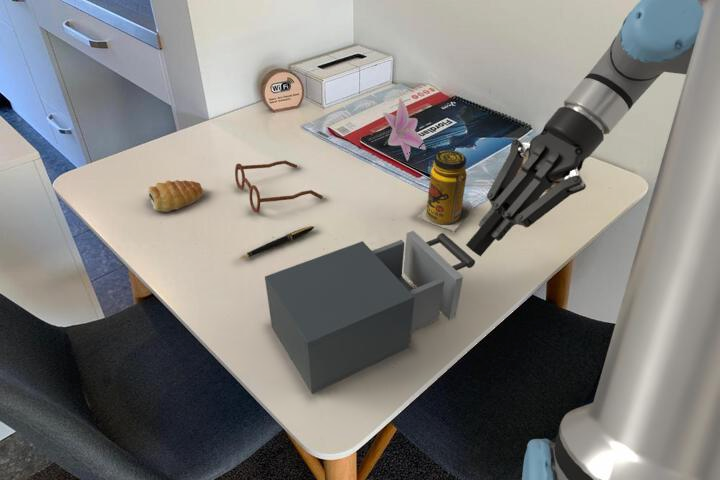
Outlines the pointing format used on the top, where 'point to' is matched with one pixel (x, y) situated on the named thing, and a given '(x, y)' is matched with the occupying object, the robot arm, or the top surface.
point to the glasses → (244, 180)
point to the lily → (403, 130)
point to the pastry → (174, 194)
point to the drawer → (427, 275)
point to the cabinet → (339, 314)
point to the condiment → (447, 191)
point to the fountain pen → (280, 241)
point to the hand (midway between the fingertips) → (473, 250)
